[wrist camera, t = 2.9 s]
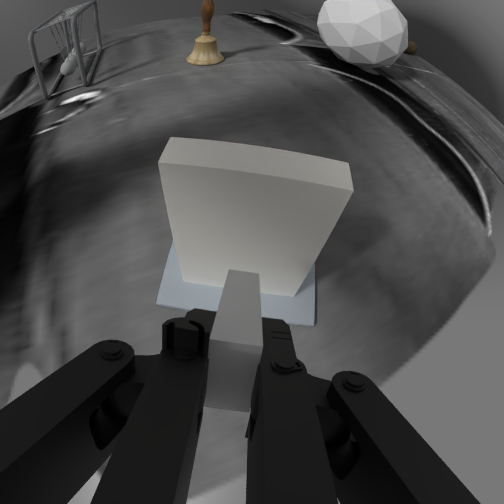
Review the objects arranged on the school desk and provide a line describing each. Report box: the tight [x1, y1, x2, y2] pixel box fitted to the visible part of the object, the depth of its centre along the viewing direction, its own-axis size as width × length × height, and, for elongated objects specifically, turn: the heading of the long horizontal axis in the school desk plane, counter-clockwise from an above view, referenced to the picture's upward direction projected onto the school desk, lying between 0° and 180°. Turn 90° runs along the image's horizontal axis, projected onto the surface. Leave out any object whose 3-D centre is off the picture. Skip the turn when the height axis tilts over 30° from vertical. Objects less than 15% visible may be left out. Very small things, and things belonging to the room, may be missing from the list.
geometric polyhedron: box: [317, 0, 408, 69], centre depth 52 cm, size 24×25×25 cm
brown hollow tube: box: [404, 40, 417, 54], centre depth 84 cm, size 15×7×7 cm, turn 116°
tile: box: [158, 137, 354, 297], centre depth 20 cm, size 2×10×14 cm, turn 84°
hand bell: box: [187, 0, 224, 65], centre depth 46 cm, size 8×8×16 cm
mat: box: [156, 239, 315, 327], centre depth 30 cm, size 20×14×1 cm
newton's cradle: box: [28, 0, 102, 100], centre depth 42 cm, size 30×10×18 cm, turn 19°
